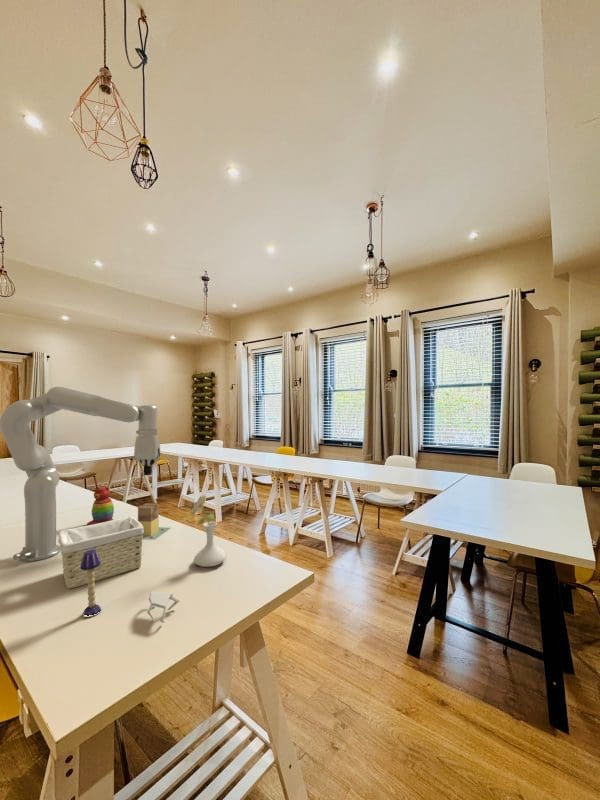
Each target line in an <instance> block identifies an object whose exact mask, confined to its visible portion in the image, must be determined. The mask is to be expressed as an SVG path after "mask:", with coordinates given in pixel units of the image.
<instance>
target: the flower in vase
mask: <svg viewBox="0 0 600 800" xmlns="http://www.w3.org/2000/svg"><path fill="white" fill-rule="evenodd" d="M206 500H207V495H205V494H203V495H200V496H199V497H198V498H197V500H196V501H195V502H194V503H193V505H194V506H193V507H192V508H191V509H190V511H191V512H190V514H191V515H195V514H197V513H198V512H200V510H201V509H202V510H203V514H204V517H202V518H200V520H199V521H198V523H197V526H198V525H202V526H203V527H204V529H205V533H206V544H205V546H204V547H203V548H201V550H199V551H198V552H197V553H196V554H195V556H194V558H193V562H194V564H195V565H197V566H199V567H203V568H204V567H206V568H207V567H208V568H209V567H214V566H217V565H220V564H222V563H224V562H225V560H226V559H227V554H226V551H224V550H223V549H222V548H221V547H218V546H217V545H216V544H215V542H214V535H215V534H214V533H215V528H216V526H217V525H218V522H217V521H213V520H214V518H215V514H214V513H215V512H214V511H211V512H210V513H209V514H208V515H207V514H206V511H205V509H204V507H203V506H204V504H205V503H206ZM205 521H207V522H205Z"/></svg>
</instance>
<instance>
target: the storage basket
mask: <svg viewBox="0 0 600 800" xmlns="http://www.w3.org/2000/svg"><path fill="white" fill-rule="evenodd" d="M143 533H144V530H143V526H142V524H141V523H140V522H139V521H138V519H136V518H135V517H133V516H128V517H123V518H118V519H113V520H112V521H107V522H103V523H98V524H93V525H88V526H87V525H85V526H79V527H73V528H70V529H69V528H68V529H62V530H61V531H59V532H58V545H59V546H60V547H61V551H60V554H61V561H62V568H63V570H62V572H63V578H64V581H65V585H66V586H65V587H67V589H68V588H71V589H74V588H78V586H79V587H81V585H82V586H83V585H88V583H87V580H88V578H87V574H88V572H87V570H82V569H81V568H80V567H81V562H82V558H83V554H84V553H85V552H86V551H88V550H96V551H97V553H98V556H99V559H100V565H99V566H98V567H96V568H94V579H95V581H94V583H95V582H98V581H100V580H103V579H106V578H109V577H114V576H117V575H119V574H123V573H126V572H129V571H133V570H136V569H138V568H141V567H142V551H143V540H144V539H143Z"/></svg>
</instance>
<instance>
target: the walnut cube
mask: <svg viewBox="0 0 600 800" xmlns="http://www.w3.org/2000/svg"><path fill="white" fill-rule="evenodd" d="M158 517H159V503H143V504H142V505H140V506H138V507H137V521H144V522H151V521H153V520H155V519H156V518H158Z"/></svg>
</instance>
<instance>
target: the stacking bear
mask: <svg viewBox="0 0 600 800" xmlns="http://www.w3.org/2000/svg"><path fill="white" fill-rule="evenodd" d="M110 496H111V490H110V488H109V487H106V486H105V487H104V486H102V487H99V486H98V487H96V490H95V491H94V493H93V497H94V499H95V500H94V501H93V504H92V508H91V517H92V520H90V521H88V522H87V523H86V526H88V525H93V524H98V523H103V522H107V521H112V520H114V519H113V518H114V512H115V506H114V502H113V500H112V499H111V498H110Z"/></svg>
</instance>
